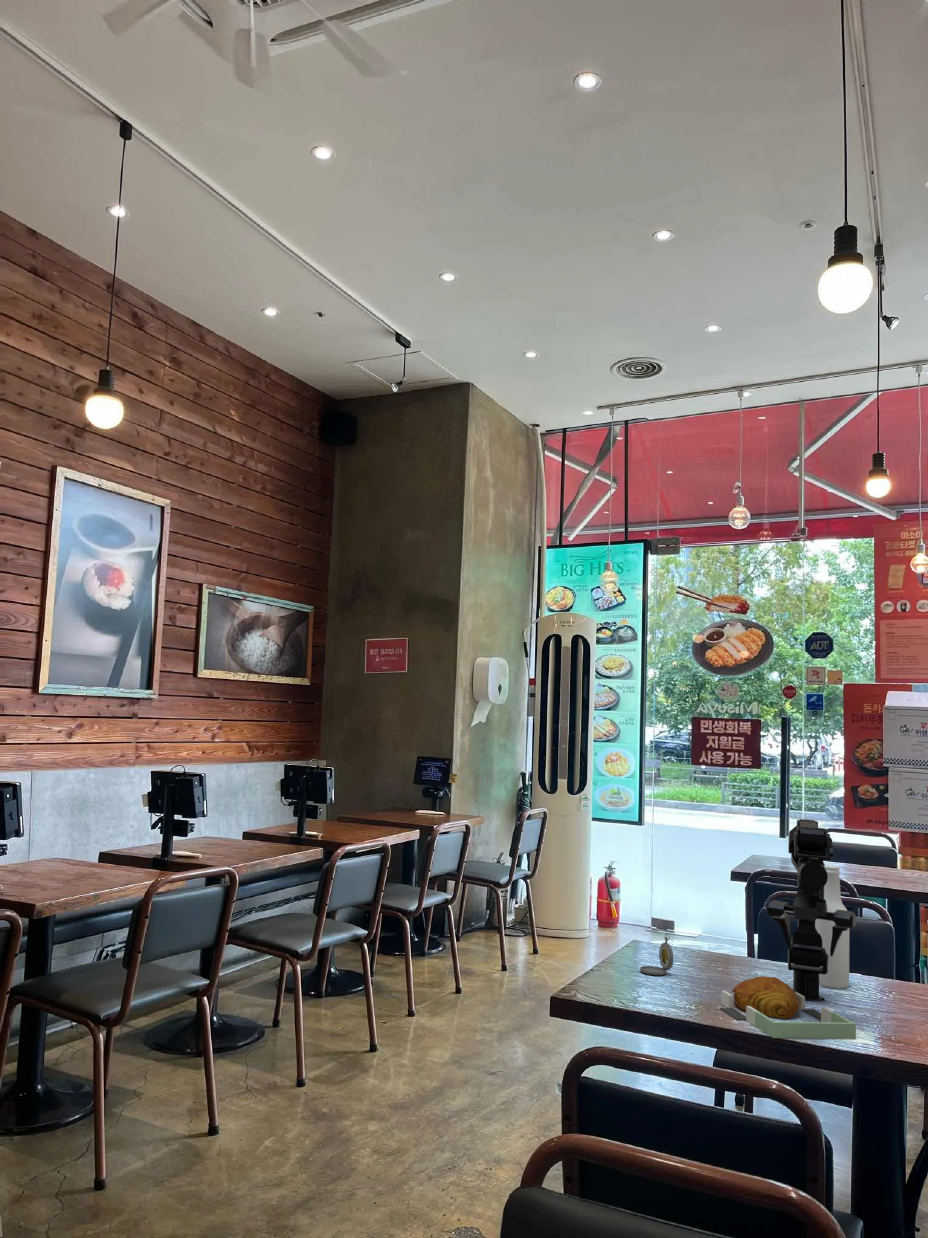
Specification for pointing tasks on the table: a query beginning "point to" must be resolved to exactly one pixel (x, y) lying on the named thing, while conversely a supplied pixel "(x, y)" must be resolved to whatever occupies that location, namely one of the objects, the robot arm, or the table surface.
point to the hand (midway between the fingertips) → (810, 952)
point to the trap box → (826, 1029)
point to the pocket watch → (661, 960)
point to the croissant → (767, 997)
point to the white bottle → (840, 958)
